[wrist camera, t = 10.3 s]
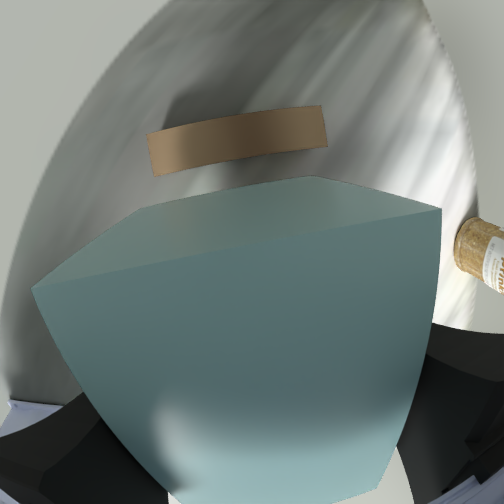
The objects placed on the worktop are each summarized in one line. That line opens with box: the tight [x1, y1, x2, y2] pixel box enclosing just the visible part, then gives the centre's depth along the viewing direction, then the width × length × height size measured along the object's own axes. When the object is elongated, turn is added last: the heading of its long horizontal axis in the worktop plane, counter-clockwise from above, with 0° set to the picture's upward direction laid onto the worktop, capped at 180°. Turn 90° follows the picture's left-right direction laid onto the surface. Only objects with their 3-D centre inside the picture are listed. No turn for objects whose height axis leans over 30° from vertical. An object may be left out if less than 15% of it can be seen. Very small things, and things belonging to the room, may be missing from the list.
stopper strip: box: [146, 106, 328, 177], centre depth 13 cm, size 8×2×2 cm, turn 100°
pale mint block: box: [30, 175, 442, 504], centre depth 8 cm, size 6×10×7 cm, turn 10°
